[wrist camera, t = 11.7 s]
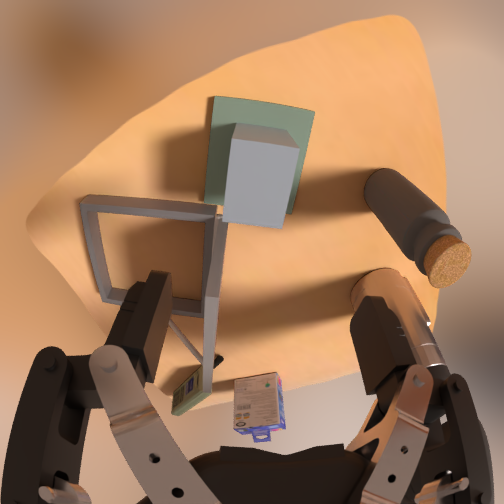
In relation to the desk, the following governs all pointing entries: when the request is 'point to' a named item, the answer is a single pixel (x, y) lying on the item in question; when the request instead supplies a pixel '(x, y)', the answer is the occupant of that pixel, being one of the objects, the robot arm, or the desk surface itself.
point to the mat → (255, 113)
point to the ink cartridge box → (258, 406)
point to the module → (259, 175)
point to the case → (180, 306)
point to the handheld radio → (191, 391)
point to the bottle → (418, 227)
